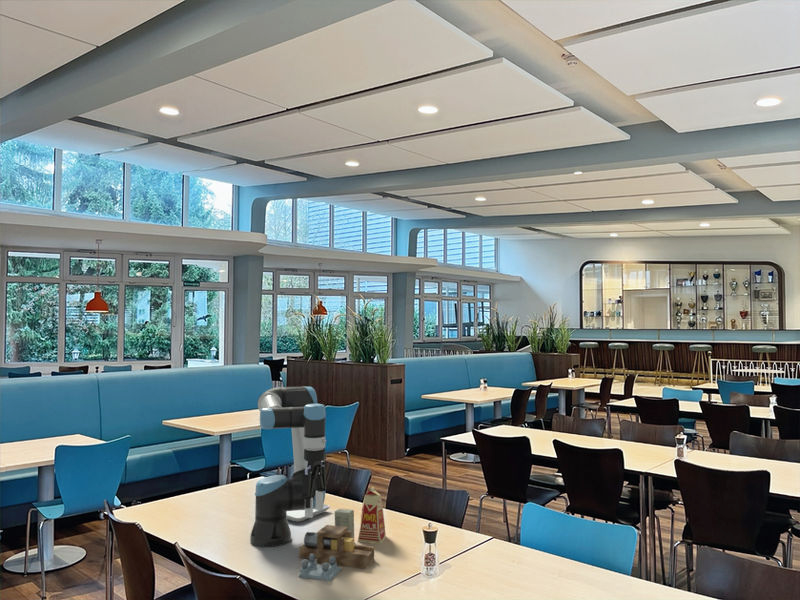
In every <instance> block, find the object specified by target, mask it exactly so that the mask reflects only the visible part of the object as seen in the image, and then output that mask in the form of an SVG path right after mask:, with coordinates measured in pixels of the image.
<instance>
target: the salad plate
mask: <svg viewBox="0 0 800 600" xmlns="http://www.w3.org/2000/svg"><path fill="white" fill-rule="evenodd" d="M330 508H331V505H330V504H325V503H324V504H323V511H322V510H316V509H313V517H315V516H318V515H321V514H322V513H324V512H326V511H328V510H330ZM286 517H287V519H288V520H287V521H290V520H292V522H295V521H296V522H295V523H297V522H302V521H306V520H307V519H310V518H309V517H305V510H295V511H287V515H286Z"/></svg>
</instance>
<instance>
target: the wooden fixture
mask: <svg viewBox="0 0 800 600" xmlns="http://www.w3.org/2000/svg"><path fill="white" fill-rule="evenodd" d="M316 533H317V548H311V547H305V545H304V544H302V545H300V546H298V549H299V551H298V552H299V553H298V556H299V558H303V559H309V556H310V554H315V556H316V558H315V560H316V564H318V563H319V564H323V563H324V562H326V563H329V558H330V556H335V557H336V562H337V566H340V567H341V566H342V567H350V568H358V569H366V570H367V568H368V567H369V566H370V565H371V564H372V563H373V562H374V561H375V546H371V545H363V544H355V543H354V550H353V551H352V552H348V551H344V538H342V537H349V538H352V531H348V527H342V526H335V525H333V524H332V525H331V524H326V525H324V526H323V527H321V529H319V530H318V531H317V532H316ZM324 537H330V538H337V550H331V549H324ZM329 565H330V563H329Z"/></svg>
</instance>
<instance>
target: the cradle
mask: <svg viewBox="0 0 800 600" xmlns="http://www.w3.org/2000/svg"><path fill="white" fill-rule="evenodd" d="M315 558H316V556H315V554H310V556H309V558H308V559H302V561H301V568H300V572H299V573H298V577H299V578H305V579H313V580H319V581H320V580H321V581H326V582H327V581H328V582H331V581H332V580H333V579H334V577H336V576H337V575H338V574H339V573H340V572H341V570H342V567H341V566H338V565H337V562H336V557H335V556H330V558H329V563H330V564H329V563H326V562H324V563H322V564H318V563H317V559H315Z"/></svg>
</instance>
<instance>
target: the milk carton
mask: <svg viewBox="0 0 800 600" xmlns="http://www.w3.org/2000/svg"><path fill="white" fill-rule="evenodd" d="M360 517H361V518H360V528H359V532H358V537H357V542H361V543H368V544H380V545H381V544H382V543H383V541H384V540H385V538H386V527H385V526H386V525H385V516H384V507H383V501H382V495H381V494H380V493H379V492H378V491H377V490H375V487H374V486H372V487H369V490H368V492H367V493H365V494H364V497H363V503H362V507H361V514H360Z"/></svg>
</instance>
